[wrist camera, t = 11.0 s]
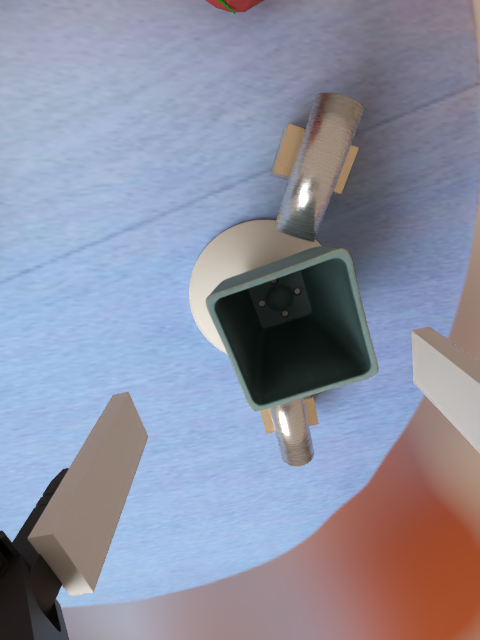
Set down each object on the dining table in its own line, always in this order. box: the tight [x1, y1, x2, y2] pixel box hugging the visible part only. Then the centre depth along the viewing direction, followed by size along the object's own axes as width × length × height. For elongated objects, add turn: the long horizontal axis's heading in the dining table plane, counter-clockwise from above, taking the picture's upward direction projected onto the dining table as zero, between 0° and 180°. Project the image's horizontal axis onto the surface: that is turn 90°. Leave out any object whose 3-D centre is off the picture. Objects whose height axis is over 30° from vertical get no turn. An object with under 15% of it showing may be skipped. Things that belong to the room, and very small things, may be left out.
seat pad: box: [189, 220, 321, 354], centre depth 28 cm, size 13×13×1 cm
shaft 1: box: [271, 93, 364, 242], centre depth 22 cm, size 8×5×6 cm, turn 163°
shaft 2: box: [260, 395, 318, 466], centre depth 29 cm, size 8×5×6 cm, turn 14°
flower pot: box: [206, 246, 378, 411], centre depth 24 cm, size 9×9×9 cm
